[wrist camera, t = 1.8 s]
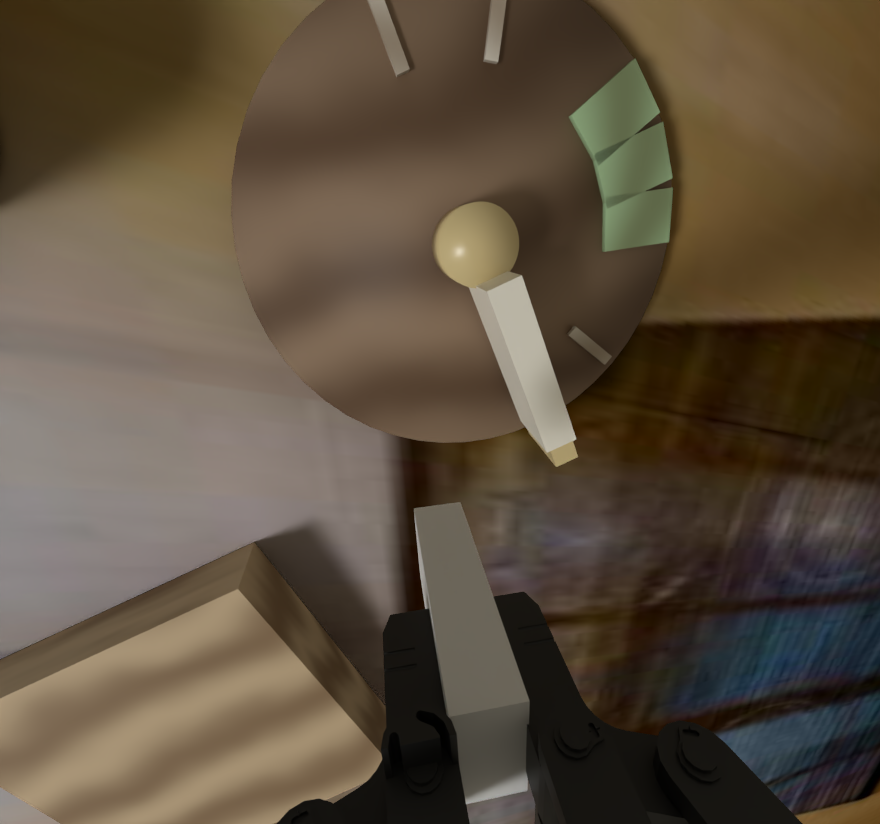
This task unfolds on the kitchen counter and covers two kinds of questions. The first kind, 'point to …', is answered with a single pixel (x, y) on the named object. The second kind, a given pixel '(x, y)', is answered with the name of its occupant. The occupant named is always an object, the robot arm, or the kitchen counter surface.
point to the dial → (447, 200)
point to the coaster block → (188, 707)
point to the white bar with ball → (506, 317)
